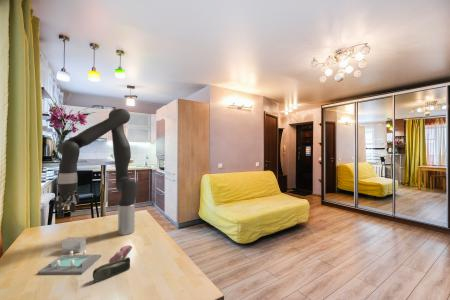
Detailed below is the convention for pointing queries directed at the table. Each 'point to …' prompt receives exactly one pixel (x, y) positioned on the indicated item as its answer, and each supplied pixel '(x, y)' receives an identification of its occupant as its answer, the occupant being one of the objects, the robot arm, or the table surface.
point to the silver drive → (73, 244)
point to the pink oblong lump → (121, 253)
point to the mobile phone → (110, 269)
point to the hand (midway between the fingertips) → (67, 214)
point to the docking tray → (70, 264)
